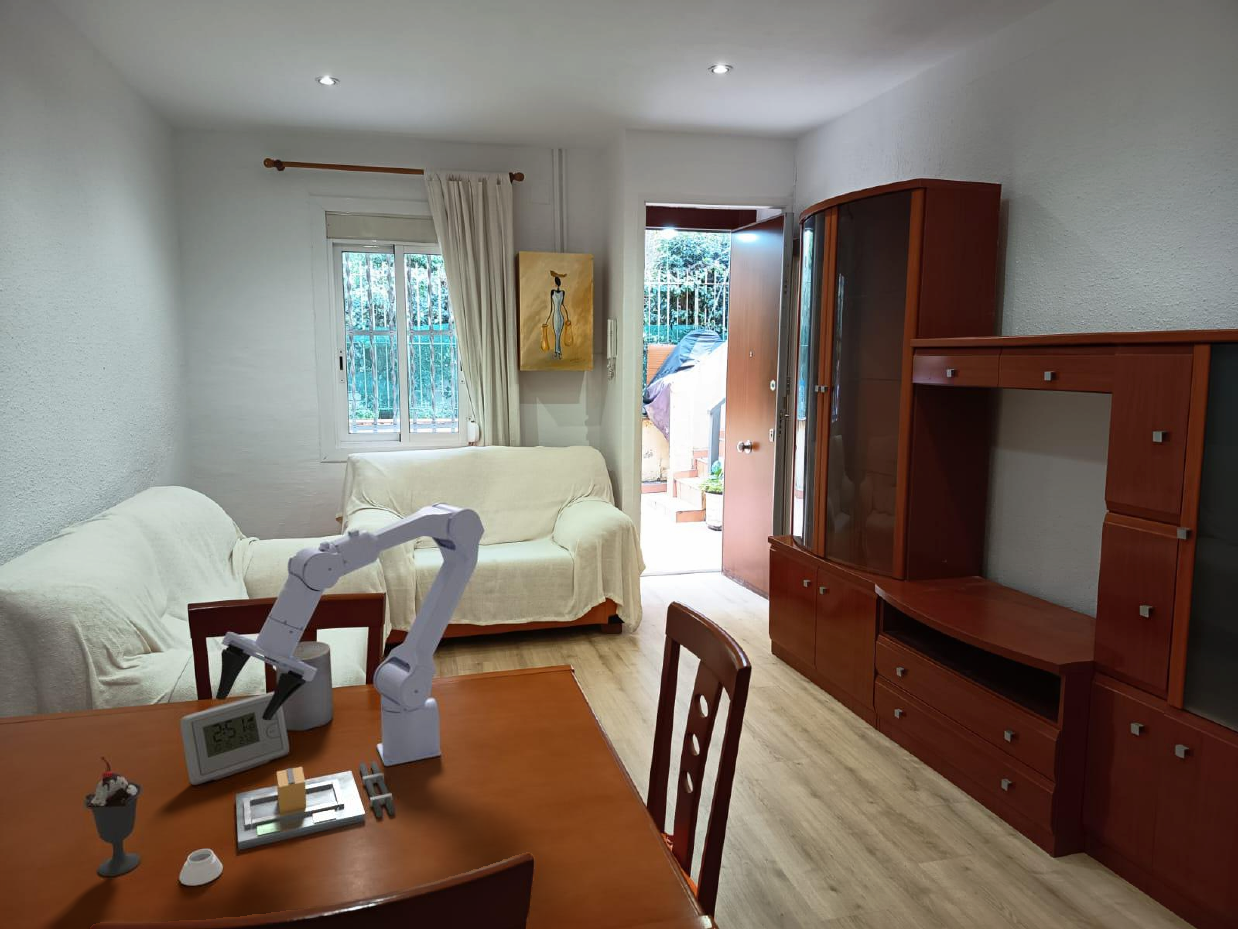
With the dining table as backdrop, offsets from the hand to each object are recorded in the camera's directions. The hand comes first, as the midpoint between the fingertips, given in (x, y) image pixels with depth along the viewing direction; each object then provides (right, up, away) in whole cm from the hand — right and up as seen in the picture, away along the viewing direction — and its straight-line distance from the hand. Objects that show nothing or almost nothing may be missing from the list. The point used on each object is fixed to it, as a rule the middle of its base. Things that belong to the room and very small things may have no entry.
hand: (243, 709), depth 123 cm
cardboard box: (+7, -14, +1) cm, 16 cm away
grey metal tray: (+8, -16, +1) cm, 18 cm away
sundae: (-11, -17, -12) cm, 24 cm away
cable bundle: (+18, -15, +7) cm, 24 cm away
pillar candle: (-3, -12, +32) cm, 34 cm away
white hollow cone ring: (+1, -18, -14) cm, 23 cm away
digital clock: (-7, -14, +14) cm, 22 cm away
